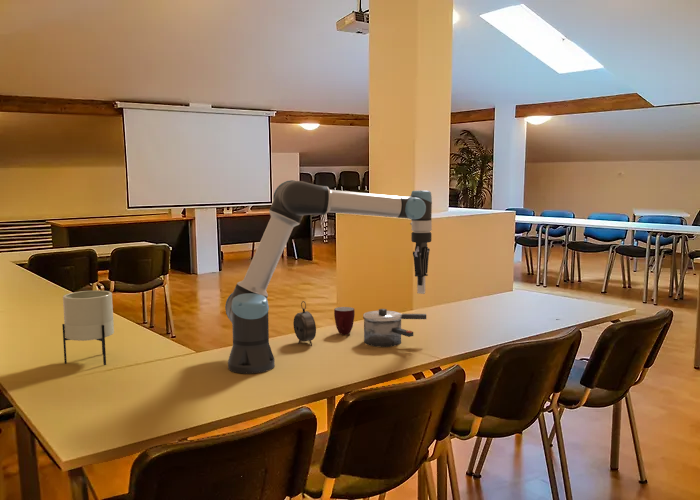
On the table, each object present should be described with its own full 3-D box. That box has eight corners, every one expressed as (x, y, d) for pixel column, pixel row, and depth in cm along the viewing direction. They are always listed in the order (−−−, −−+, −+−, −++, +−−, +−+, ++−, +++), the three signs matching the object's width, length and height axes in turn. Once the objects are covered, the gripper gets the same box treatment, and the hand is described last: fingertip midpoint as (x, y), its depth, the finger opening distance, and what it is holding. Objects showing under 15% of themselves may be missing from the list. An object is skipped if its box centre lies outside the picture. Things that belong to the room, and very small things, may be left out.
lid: (427, 323, 222) (427, 314, 221) (362, 322, 223) (362, 313, 223) (425, 314, 236) (425, 305, 236) (364, 313, 238) (364, 305, 237)
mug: (352, 338, 237) (352, 312, 236) (332, 337, 238) (332, 312, 237) (355, 331, 247) (355, 307, 246) (335, 330, 248) (335, 306, 247)
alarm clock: (317, 345, 226) (316, 302, 224) (304, 348, 223) (303, 304, 221) (303, 339, 235) (303, 297, 233) (291, 341, 233) (290, 299, 231)
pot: (396, 354, 214) (396, 329, 213) (356, 340, 233) (356, 317, 232) (425, 348, 222) (425, 324, 221) (385, 335, 241) (385, 312, 240)
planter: (65, 357, 212) (61, 292, 209) (114, 352, 218) (111, 288, 216) (63, 370, 198) (59, 300, 196) (116, 364, 204) (112, 296, 202)
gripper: (417, 229, 237) (417, 289, 240) (405, 232, 226) (405, 295, 228) (436, 230, 234) (436, 291, 237) (425, 233, 222) (425, 297, 225)
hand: (421, 293), depth 233 cm, fingers closed
